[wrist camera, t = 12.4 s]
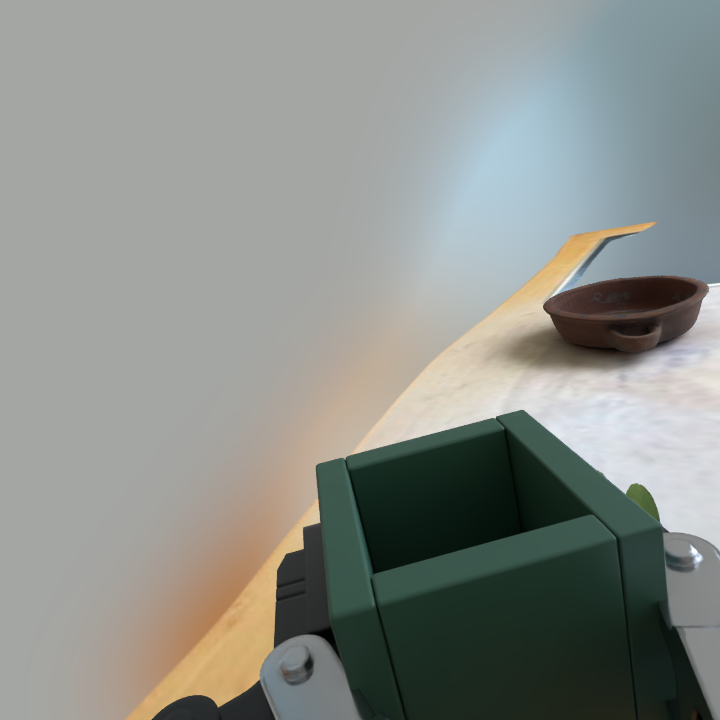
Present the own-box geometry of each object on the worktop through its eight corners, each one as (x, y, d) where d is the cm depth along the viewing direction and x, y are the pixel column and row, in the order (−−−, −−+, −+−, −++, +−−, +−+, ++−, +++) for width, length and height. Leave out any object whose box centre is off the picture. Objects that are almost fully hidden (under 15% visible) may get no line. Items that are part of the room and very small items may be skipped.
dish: (547, 373, 59) (541, 329, 57) (548, 319, 78) (543, 285, 77) (738, 355, 52) (736, 305, 51) (686, 300, 72) (684, 263, 70)
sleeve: (697, 931, 10) (664, 524, 8) (444, 1013, 10) (328, 618, 8) (568, 704, 15) (523, 408, 13) (394, 756, 15) (314, 463, 12)
